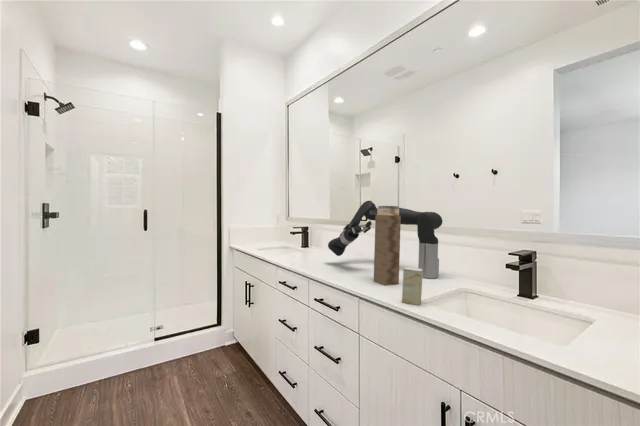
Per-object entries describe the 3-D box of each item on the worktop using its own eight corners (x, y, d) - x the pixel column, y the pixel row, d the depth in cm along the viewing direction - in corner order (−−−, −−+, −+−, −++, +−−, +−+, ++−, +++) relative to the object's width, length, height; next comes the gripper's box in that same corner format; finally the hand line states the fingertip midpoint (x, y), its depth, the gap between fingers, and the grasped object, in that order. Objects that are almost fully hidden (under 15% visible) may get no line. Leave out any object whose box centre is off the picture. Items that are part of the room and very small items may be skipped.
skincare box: (401, 302, 104) (402, 268, 104) (404, 299, 108) (405, 266, 108) (420, 305, 101) (421, 270, 101) (422, 302, 105) (423, 268, 105)
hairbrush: (376, 214, 146) (376, 206, 146) (399, 215, 131) (399, 206, 131) (366, 214, 143) (366, 206, 143) (388, 215, 128) (388, 205, 128)
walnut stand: (387, 280, 139) (389, 215, 138) (398, 284, 131) (400, 215, 131) (373, 281, 135) (375, 214, 135) (384, 285, 128) (386, 215, 128)
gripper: (336, 229, 161) (350, 215, 149) (358, 229, 168) (373, 216, 155) (339, 242, 158) (354, 228, 145) (361, 241, 164) (377, 228, 152)
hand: (363, 222), depth 150 cm, fingers open, 8 cm apart
